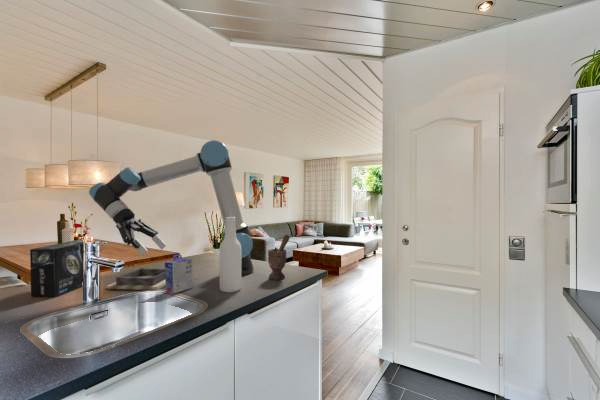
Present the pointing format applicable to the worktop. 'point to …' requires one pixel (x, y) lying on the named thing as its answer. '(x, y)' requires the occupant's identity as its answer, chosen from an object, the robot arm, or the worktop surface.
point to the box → (56, 269)
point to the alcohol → (230, 259)
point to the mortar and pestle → (278, 260)
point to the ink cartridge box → (178, 274)
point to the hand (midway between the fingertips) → (155, 250)
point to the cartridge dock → (141, 280)
